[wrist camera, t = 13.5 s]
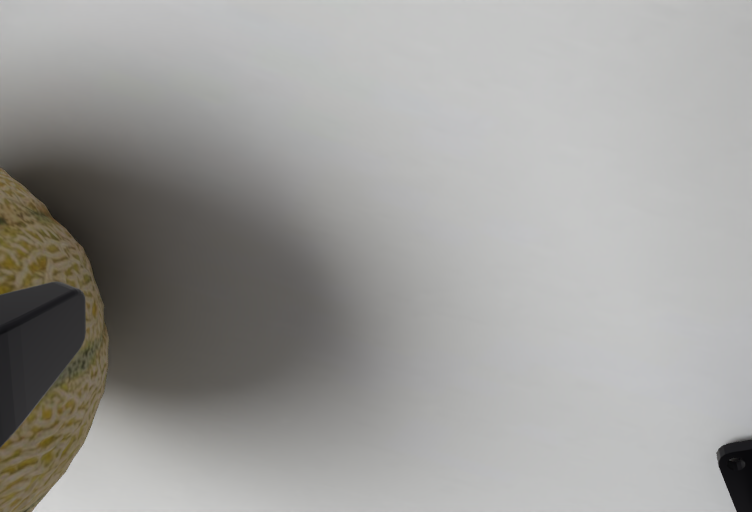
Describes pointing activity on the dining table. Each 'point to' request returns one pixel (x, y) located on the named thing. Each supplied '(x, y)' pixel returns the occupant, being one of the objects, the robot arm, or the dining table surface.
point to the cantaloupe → (81, 376)
